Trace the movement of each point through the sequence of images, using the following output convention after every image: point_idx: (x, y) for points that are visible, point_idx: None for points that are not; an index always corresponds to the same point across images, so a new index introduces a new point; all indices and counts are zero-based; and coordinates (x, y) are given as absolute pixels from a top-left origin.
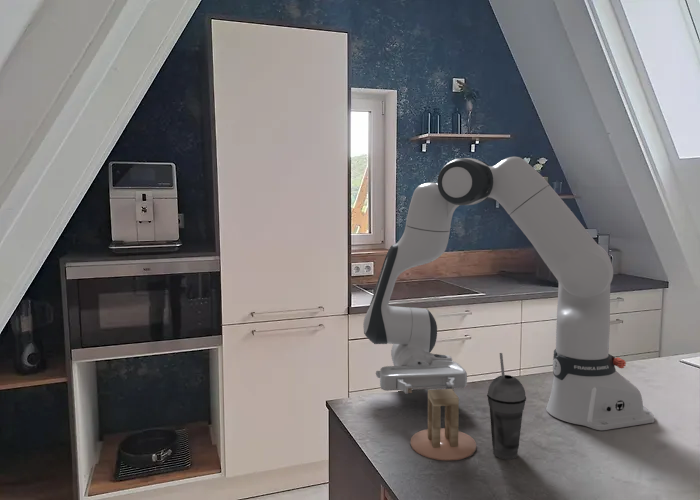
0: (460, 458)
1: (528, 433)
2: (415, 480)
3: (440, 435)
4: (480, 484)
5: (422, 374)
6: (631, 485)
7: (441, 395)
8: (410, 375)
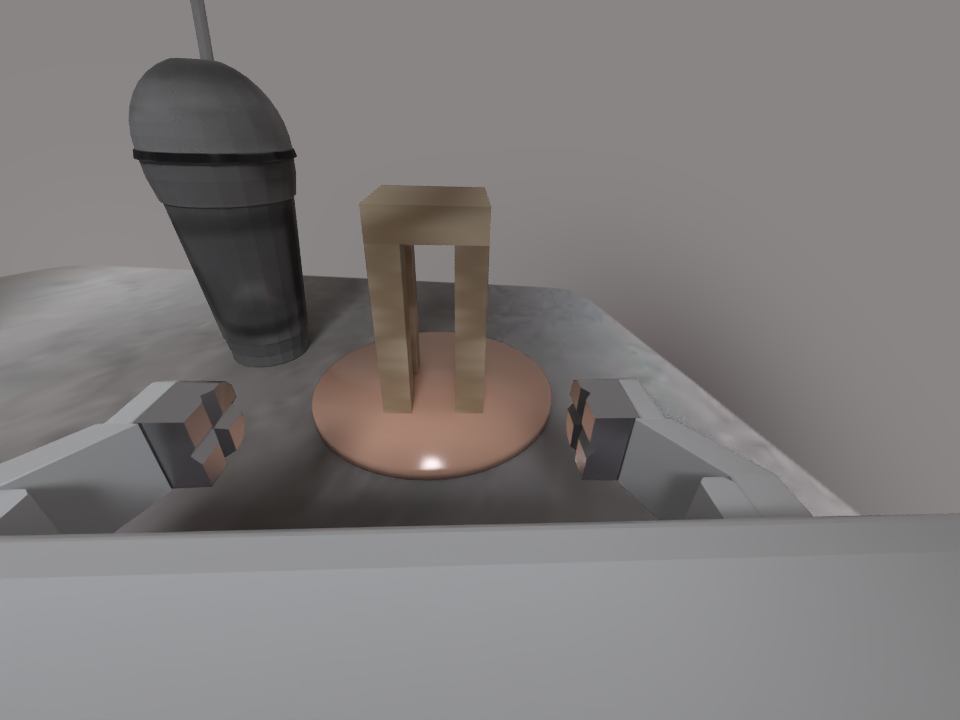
0: None
1: (28, 433)
2: (541, 305)
3: (427, 416)
4: None
5: (399, 535)
6: (137, 277)
7: (442, 192)
8: (626, 523)
